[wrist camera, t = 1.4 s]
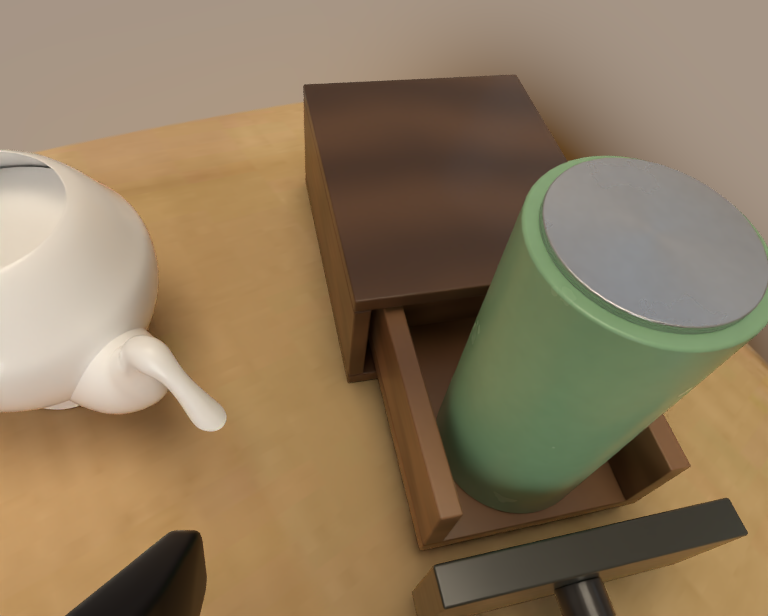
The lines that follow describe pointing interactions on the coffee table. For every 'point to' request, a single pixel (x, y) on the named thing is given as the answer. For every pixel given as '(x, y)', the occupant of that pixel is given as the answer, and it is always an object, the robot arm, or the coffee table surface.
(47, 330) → the teapot
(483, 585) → the drawer
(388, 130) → the cabinet
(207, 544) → the coffee table surface
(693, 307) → the can
